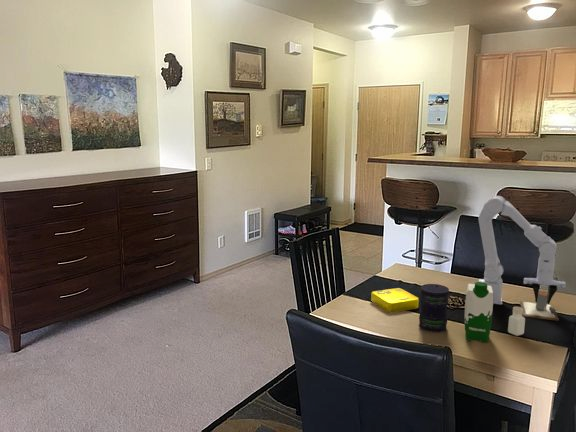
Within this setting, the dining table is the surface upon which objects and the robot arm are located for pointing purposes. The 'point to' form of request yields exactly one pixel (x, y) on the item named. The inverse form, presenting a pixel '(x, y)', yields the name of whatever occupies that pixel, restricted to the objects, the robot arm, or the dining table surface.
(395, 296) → the element tile
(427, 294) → the storage jar
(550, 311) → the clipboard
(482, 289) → the milk carton
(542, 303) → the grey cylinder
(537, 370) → the dining table surface
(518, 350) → the dining table surface
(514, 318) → the salt shaker
